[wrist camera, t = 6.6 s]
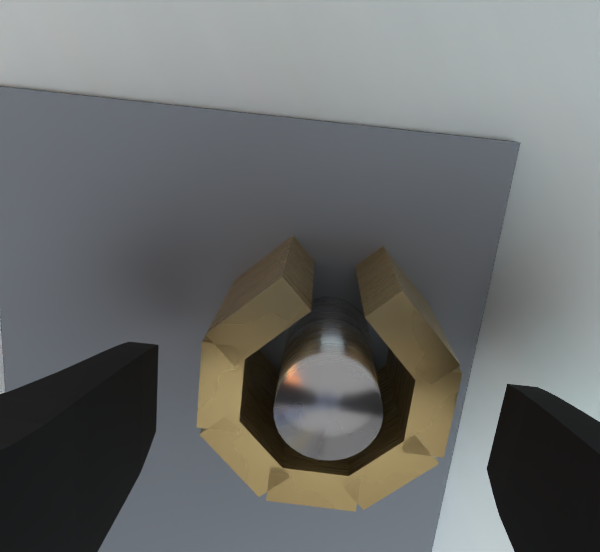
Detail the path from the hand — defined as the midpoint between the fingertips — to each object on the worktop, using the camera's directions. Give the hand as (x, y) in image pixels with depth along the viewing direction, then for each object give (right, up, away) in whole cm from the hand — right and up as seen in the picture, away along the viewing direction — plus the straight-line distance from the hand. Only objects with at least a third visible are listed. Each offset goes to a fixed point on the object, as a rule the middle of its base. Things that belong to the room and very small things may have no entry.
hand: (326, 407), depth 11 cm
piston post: (0, +1, +4) cm, 4 cm away
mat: (-2, 0, +5) cm, 5 cm away
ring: (0, +1, +4) cm, 4 cm away
